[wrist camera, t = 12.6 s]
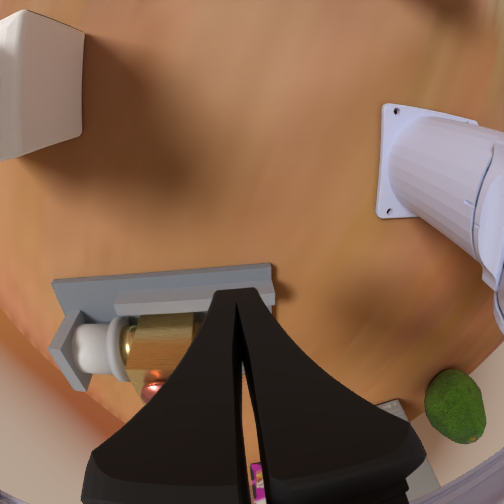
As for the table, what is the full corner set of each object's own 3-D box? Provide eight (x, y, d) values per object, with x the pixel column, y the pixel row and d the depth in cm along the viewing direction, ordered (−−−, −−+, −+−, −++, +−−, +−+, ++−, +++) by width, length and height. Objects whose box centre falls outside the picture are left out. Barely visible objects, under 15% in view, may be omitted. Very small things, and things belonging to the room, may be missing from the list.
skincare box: (356, 408, 32) (394, 513, 18) (403, 395, 33) (446, 489, 19) (342, 436, 36) (369, 525, 22) (384, 425, 36) (416, 507, 23)
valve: (213, 304, 21) (213, 378, 15) (219, 342, 23) (222, 414, 17) (125, 309, 21) (101, 378, 15) (139, 346, 23) (124, 413, 17)
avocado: (463, 347, 30) (507, 412, 19) (456, 376, 33) (491, 434, 23) (414, 377, 31) (453, 451, 20) (412, 402, 34) (443, 465, 24)
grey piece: (269, 262, 21) (283, 309, 16) (270, 359, 25) (280, 406, 21) (54, 279, 20) (25, 320, 15) (95, 365, 24) (81, 407, 20)
